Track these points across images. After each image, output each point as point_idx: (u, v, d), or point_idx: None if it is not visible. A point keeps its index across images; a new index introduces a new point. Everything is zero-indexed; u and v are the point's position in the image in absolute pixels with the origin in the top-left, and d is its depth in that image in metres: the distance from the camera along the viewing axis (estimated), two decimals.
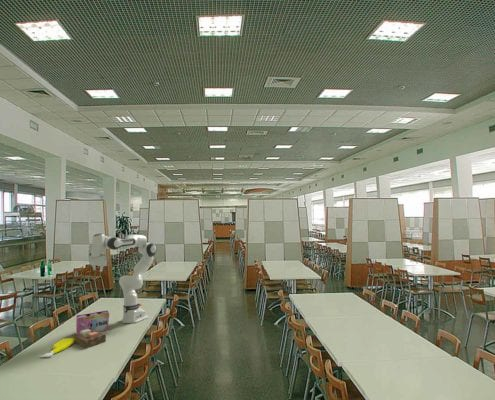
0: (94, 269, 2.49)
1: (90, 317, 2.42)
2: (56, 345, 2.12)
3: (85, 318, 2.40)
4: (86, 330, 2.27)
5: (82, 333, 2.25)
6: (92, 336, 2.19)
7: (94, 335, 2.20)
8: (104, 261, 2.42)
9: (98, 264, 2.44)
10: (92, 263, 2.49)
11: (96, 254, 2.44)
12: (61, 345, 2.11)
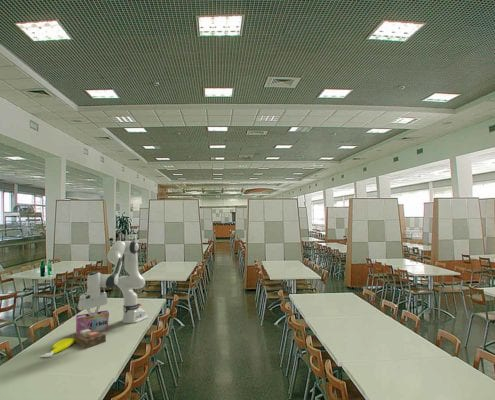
0: None
1: (90, 317, 2.42)
2: (56, 345, 2.12)
3: (85, 318, 2.40)
4: (86, 330, 2.27)
5: (82, 333, 2.25)
6: (92, 336, 2.19)
7: (94, 335, 2.20)
8: None
9: (100, 304, 2.25)
10: (88, 307, 2.18)
11: (99, 293, 2.24)
12: (61, 345, 2.11)
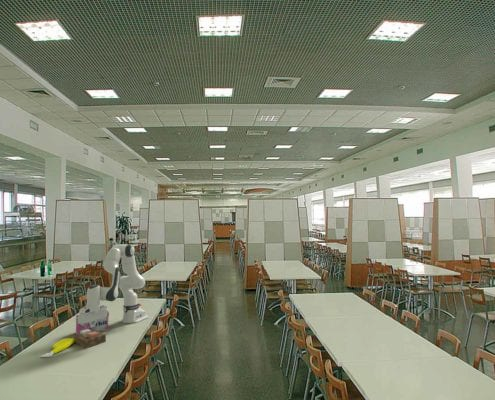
0: None
1: None
2: (56, 345, 2.12)
3: None
4: (86, 330, 2.27)
5: (82, 333, 2.25)
6: (92, 336, 2.19)
7: (94, 335, 2.20)
8: None
9: (99, 318, 2.24)
10: (87, 321, 2.17)
11: (99, 307, 2.23)
12: (61, 345, 2.11)
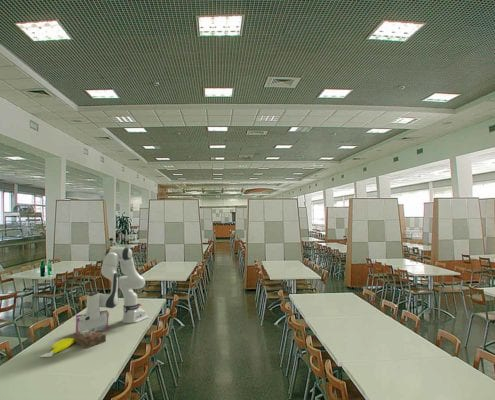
0: None
1: None
2: (56, 345, 2.12)
3: None
4: (86, 330, 2.27)
5: (82, 333, 2.25)
6: (92, 337, 2.19)
7: (94, 336, 2.20)
8: None
9: (99, 325, 2.24)
10: (87, 328, 2.17)
11: (99, 314, 2.23)
12: (61, 345, 2.11)
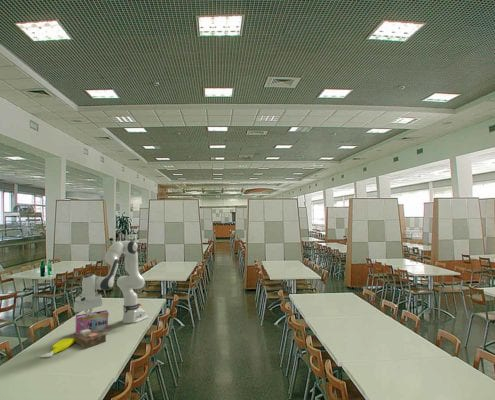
0: None
1: (89, 317, 2.42)
2: (56, 345, 2.12)
3: (84, 318, 2.40)
4: (86, 330, 2.27)
5: (82, 333, 2.25)
6: (92, 337, 2.19)
7: (94, 336, 2.20)
8: None
9: (95, 306, 2.29)
10: (83, 309, 2.22)
11: (94, 295, 2.28)
12: (61, 345, 2.11)
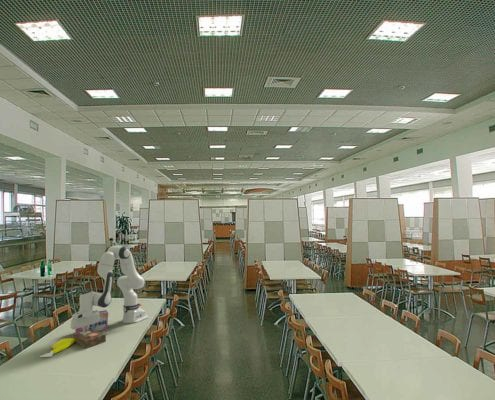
0: None
1: None
2: (56, 345, 2.12)
3: None
4: None
5: (82, 334, 2.25)
6: (92, 337, 2.19)
7: (94, 336, 2.20)
8: None
9: (92, 322, 2.30)
10: (80, 326, 2.22)
11: (92, 312, 2.29)
12: (61, 345, 2.11)
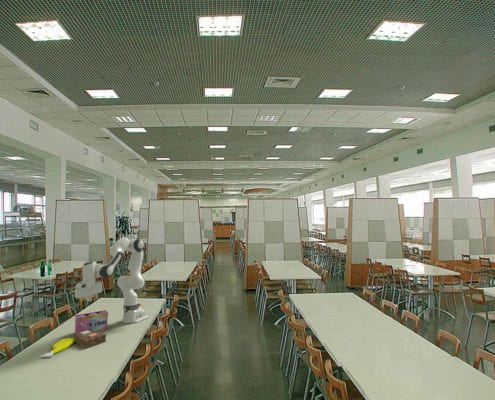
0: None
1: (89, 317, 2.43)
2: (56, 345, 2.12)
3: (84, 318, 2.41)
4: (86, 331, 2.27)
5: (82, 334, 2.25)
6: (92, 337, 2.19)
7: (94, 336, 2.20)
8: None
9: (95, 292, 2.38)
10: (84, 295, 2.31)
11: (95, 282, 2.37)
12: (61, 345, 2.11)
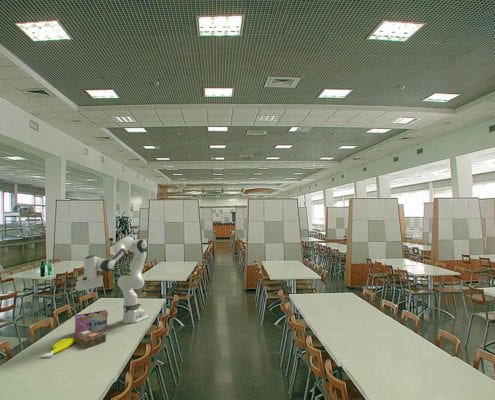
0: None
1: (89, 317, 2.43)
2: (56, 345, 2.12)
3: (84, 318, 2.41)
4: (86, 331, 2.27)
5: (82, 334, 2.25)
6: (92, 337, 2.19)
7: (94, 336, 2.20)
8: None
9: (96, 286, 2.42)
10: (84, 288, 2.34)
11: (96, 276, 2.41)
12: (61, 345, 2.11)
